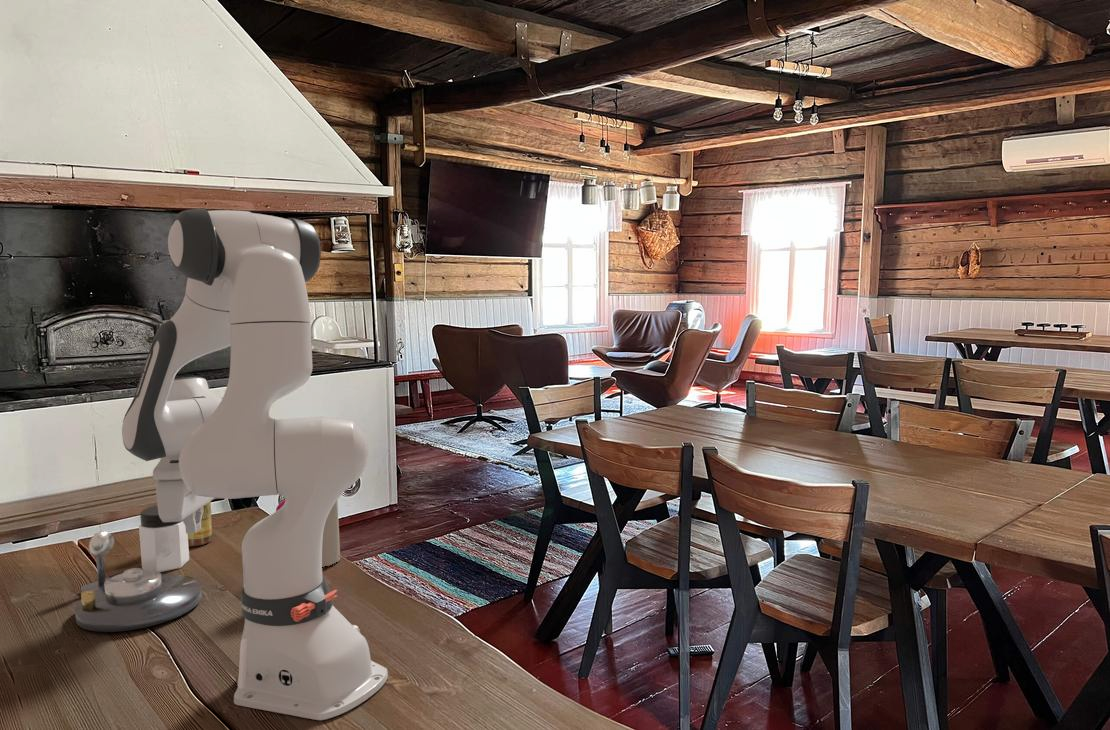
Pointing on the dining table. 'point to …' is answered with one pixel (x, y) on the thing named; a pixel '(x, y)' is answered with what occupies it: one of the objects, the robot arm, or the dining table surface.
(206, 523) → the sauce bottle
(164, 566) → the jar
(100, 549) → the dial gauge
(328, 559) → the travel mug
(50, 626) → the dining table surface
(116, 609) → the turntable
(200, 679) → the dining table surface
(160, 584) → the cover
